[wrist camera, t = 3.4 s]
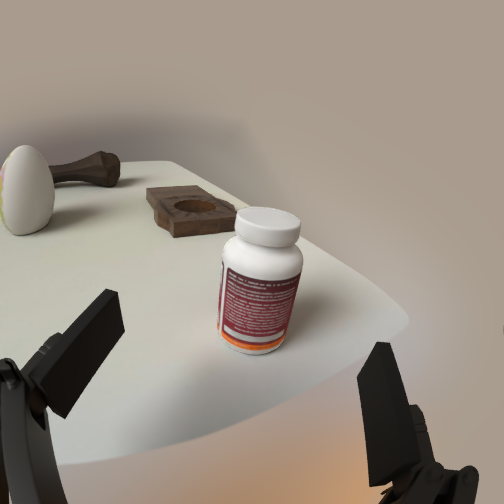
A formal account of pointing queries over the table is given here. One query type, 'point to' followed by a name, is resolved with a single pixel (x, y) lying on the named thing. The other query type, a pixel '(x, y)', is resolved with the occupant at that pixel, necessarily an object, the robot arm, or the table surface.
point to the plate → (190, 211)
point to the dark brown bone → (89, 170)
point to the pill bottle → (259, 280)
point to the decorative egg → (26, 191)
